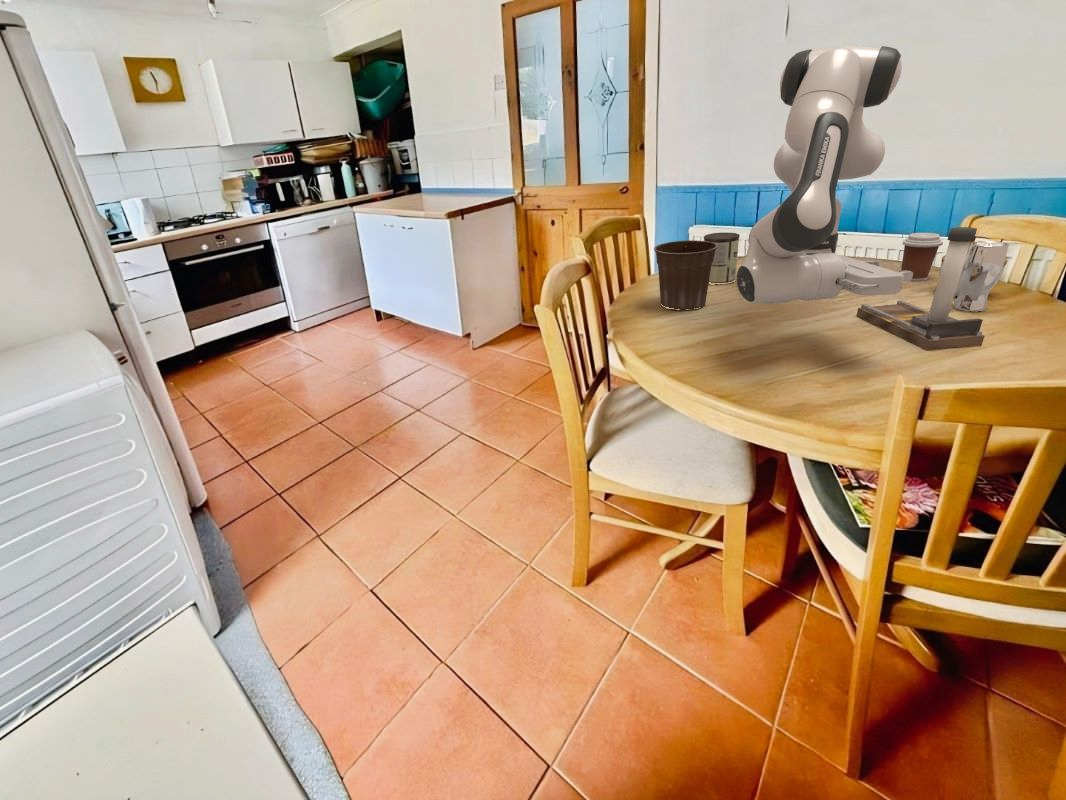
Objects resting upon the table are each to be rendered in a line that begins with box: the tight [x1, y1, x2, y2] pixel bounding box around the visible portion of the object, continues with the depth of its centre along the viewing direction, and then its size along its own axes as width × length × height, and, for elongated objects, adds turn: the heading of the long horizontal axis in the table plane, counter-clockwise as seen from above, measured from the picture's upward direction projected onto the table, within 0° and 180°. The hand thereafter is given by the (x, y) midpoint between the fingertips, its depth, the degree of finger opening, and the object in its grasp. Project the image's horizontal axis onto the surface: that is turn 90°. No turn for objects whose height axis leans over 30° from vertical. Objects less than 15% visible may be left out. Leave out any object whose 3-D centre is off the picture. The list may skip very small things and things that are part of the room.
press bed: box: [856, 300, 986, 351], centre depth 110 cm, size 23×11×5 cm, turn 2°
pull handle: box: [911, 226, 978, 331], centre depth 100 cm, size 6×6×20 cm
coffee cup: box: [900, 232, 944, 282], centre depth 142 cm, size 9×9×12 cm
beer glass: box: [952, 240, 1010, 313], centre depth 116 cm, size 7×7×15 cm
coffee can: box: [703, 232, 740, 283], centre depth 156 cm, size 10×10×14 cm
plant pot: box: [653, 239, 718, 310], centre depth 137 cm, size 16×16×16 cm
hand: (892, 270), depth 99 cm, fingers open, 8 cm apart
